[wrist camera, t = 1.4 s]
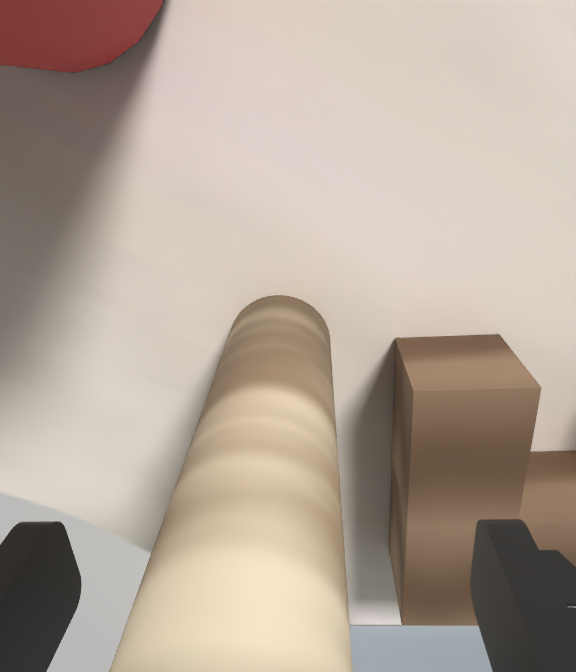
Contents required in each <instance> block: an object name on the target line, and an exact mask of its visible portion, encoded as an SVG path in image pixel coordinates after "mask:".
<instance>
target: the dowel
mask: <svg viewBox="0 0 576 672" xmlns="http://www.w3.org/2000/svg"><path fill="white" fill-rule="evenodd" d="M109 672H353V670H352V655H351V641H350V626H349V611H348V597H347V582H346V567H345V553H344V538H343V523H342V509H341V494H340V479H339V465H338V450H337V435H336V421H335V406H334V391H333V377H332V362H331V347H330V335H329V331H328V328H327V325H326V323H325V321H324V319H323V318H322V316H321V315H320V314H319V313H318V312H317V311H316V310H315V309H314V308H313V307H312V306H310V305H309V304H307V303H306V302H304V301H302V300H299V299H297V298H293V297H290V296H279V295H276V296H268V297H264V298H261V299H258V300H256V301H254V302H252V303H251V304H249V305H248V306H246V307H245V308H244V309H243V310H242V311H241V312H240V314H239V315H238V316H237V318H236V320H235V321H234V324H233V326H232V329H231V332H230V335H229V337H228V340H227V343H226V346H225V349H224V351H223V354H222V357H221V360H220V363H219V365H218V368H217V371H216V374H215V377H214V380H213V382H212V385H211V388H210V391H209V394H208V396H207V399H206V402H205V405H204V408H203V410H202V413H201V416H200V419H199V422H198V424H197V427H196V430H195V433H194V436H193V438H192V441H191V444H190V447H189V450H188V452H187V455H186V458H185V461H184V464H183V466H182V469H181V472H180V475H179V478H178V480H177V483H176V486H175V489H174V492H173V494H172V497H171V500H170V503H169V506H168V508H167V511H166V514H165V517H164V520H163V522H162V525H161V528H160V531H159V534H158V536H157V539H156V542H155V545H154V548H153V551H152V553H151V556H150V559H149V562H148V565H147V567H146V570H145V573H144V576H143V579H142V582H141V584H140V587H139V590H138V593H137V596H136V598H135V601H134V604H133V607H132V609H131V612H130V615H129V618H128V621H127V624H126V626H125V629H124V632H123V635H122V637H121V640H120V643H119V646H118V649H117V652H116V654H115V657H114V660H113V663H112V666H111V668H110V671H109Z"/></svg>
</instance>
